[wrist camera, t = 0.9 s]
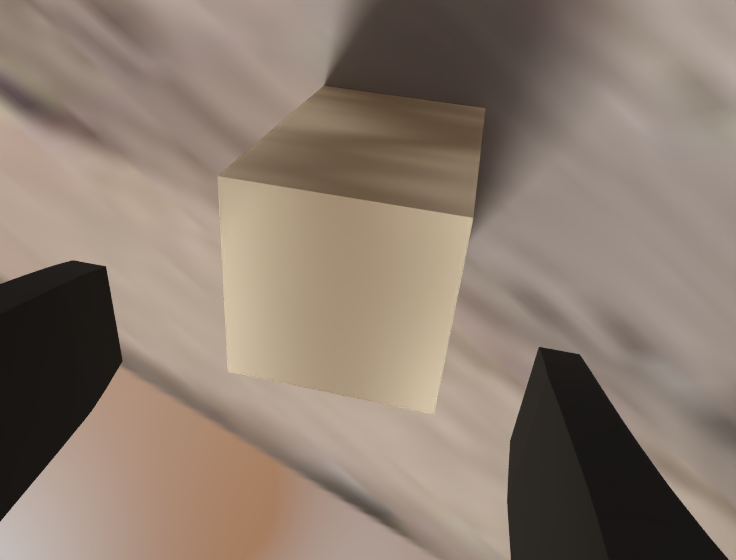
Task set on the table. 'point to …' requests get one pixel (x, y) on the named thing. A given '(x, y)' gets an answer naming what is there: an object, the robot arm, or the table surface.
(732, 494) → the table surface
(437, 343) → the birch block
